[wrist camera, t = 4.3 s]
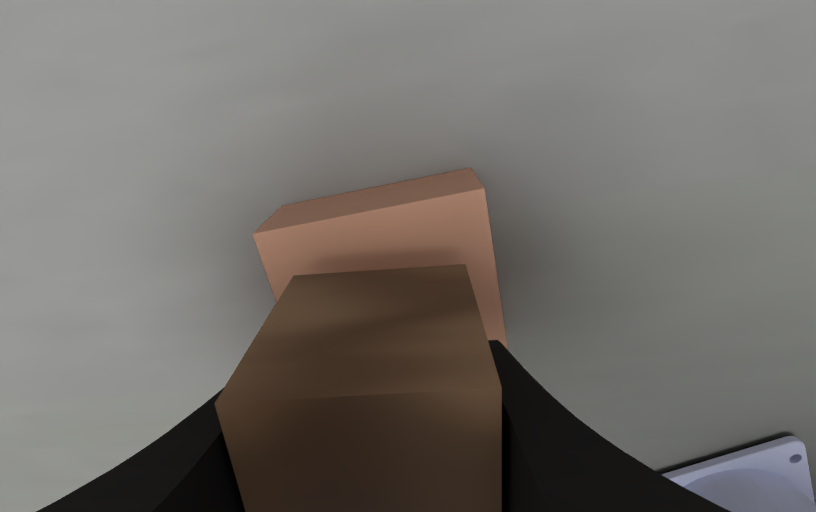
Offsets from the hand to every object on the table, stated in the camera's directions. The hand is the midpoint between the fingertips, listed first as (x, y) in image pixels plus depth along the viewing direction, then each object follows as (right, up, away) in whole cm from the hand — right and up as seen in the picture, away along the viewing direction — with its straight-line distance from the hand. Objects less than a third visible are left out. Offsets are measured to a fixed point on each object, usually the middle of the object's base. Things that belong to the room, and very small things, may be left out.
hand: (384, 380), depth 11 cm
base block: (0, +3, +6) cm, 7 cm away
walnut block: (0, +1, +1) cm, 2 cm away
